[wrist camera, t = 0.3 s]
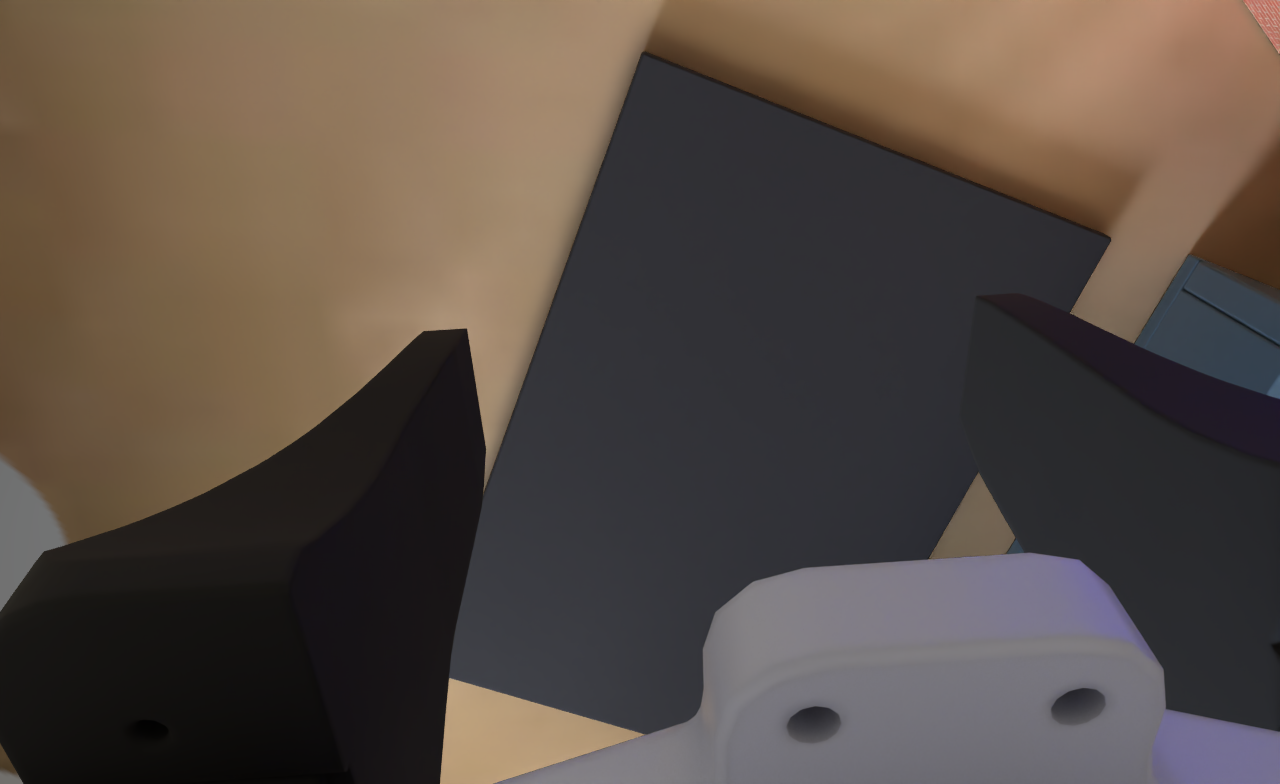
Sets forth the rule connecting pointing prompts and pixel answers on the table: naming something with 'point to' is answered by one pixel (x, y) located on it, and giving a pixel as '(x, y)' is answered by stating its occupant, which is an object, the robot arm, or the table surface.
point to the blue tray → (1217, 328)
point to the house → (1267, 18)
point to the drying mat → (734, 390)
